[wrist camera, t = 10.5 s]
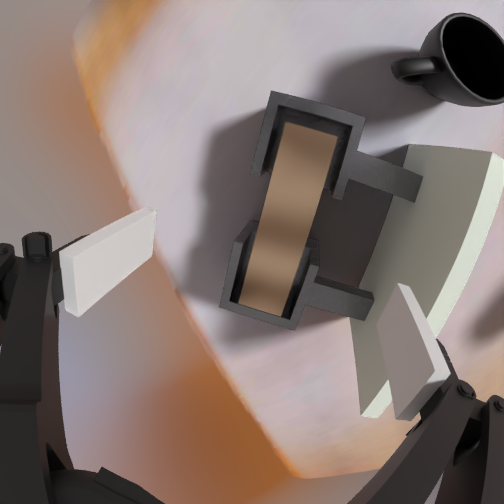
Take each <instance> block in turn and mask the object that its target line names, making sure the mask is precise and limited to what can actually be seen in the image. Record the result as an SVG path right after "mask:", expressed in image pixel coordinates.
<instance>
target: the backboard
mask: <svg viewBox="0 0 504 504" xmlns="http://www.w3.org/2000/svg"><path fill="white" fill-rule="evenodd" d="M402 168H404V169H407V170H409V171H412V172H414V173H416V174H419V175H421V176H423V179H422V183H421V186H420V189H419V192H418V195H417V198H416V201H415V203H413V202H411V201H408V200H406V199H403V198H401V197H398V196H395V195H394V196H393V199H392V202H391V205H390V208H389V210H388V213H387V216H386V219H385V222H384V224H383V227H382V230H381V233H380V235H379V238H378V241H377V243H376V246H375V248H374V251H373V253H372V256H371V258H370V261H369V263H368V266H367V268H366V271H365V273H364V275H363V278H362V280H361V282H360V285H359V287H358V288H359V289H362V290H365V291H369V292H372V294H373V297H374V300H375V301H374V303H373V305H372V307H371V309H370V311H369V313H368V315H367V317H366V319H365V321H362V320H358V319H354V318H351V317H349V318H350V325H351V332H352V339H353V346H354V354H355V363H356V371H357V381H358V391H359V402H360V414H361V416H364V417H370V418H378V417H379V416H380V415H381V413H382V412H383V411H384V410H385V408H386V407H387V406H388V405H389V404H390V402H391V401H392V395H391V390H390V385H389V379H388V375H387V370H386V365H385V360H384V356H383V351H382V347H381V343H380V339H379V334H378V330H377V326H376V324H377V322H378V320H379V319H380V317H381V315H382V313H383V311H384V309H385V307H386V305H387V303H388V301H389V299H390V297H391V295H392V293H393V291H394V289H395V287H396V284H397V283H400V284H403V285H406V286H409V287H410V289H411V290H412V292H413V294H414V296H415V298H416V300H417V302H418V304H419V306H420V308H421V310H422V312H423V314H424V316H425V318H426V320H427V322H428V324H429V326H430V328H431V330H432V332H433V334H434V336H435V338H436V337H437V335H438V333H439V332H440V330H441V328H442V327H443V325H444V323H445V322H446V320H447V318H448V316H449V315H450V313H451V311H452V309H453V307H454V306H455V304H456V302H457V300H458V298H459V296H460V294H461V292H462V290H463V288H464V286H465V284H466V282H467V280H468V278H469V276H470V274H471V272H472V269H473V267H474V265H475V263H476V261H477V258H478V256H479V254H480V251H481V249H482V247H483V244H484V242H485V239H486V237H487V234H488V231H489V229H490V226H491V223H492V221H493V218H494V215H495V212H496V209H497V206H498V203H499V200H500V197H501V193H502V190H503V187H504V159H502V158H501V157H499V156H497V155H496V154H494V153H493V152H487V151H480V150H472V149H463V148H454V147H443V146H432V145H417V144H409V146H408V150H407V154H406V157H405V161H404V164H403V167H402Z"/></svg>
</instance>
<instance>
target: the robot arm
mask: <svg viewBox="0 0 504 504" xmlns="http://www.w3.org/2000/svg"><path fill="white" fill-rule="evenodd" d="M156 214H157V210H154V209H151V208H147V207H144V208H142V209H140V210H137V211H135V212H133V213H131V214H129V215H127V216H125V217H123V218H121V219H119V220H117V221H115V222H113V223H111V224H109V225H107V226H105V227H103V228H102V229H100V230H98V231H96V232H94V233H92V234H88V235H84V236H81V237H79V238H77V239H75V240H74V241H72V242H70V243H68V244H66V245H64V246H63V247H61V248H59V249H57V250H55V251H53V252H52V240H51V235H49V234H48V233H45V232H32V233H29V234H27V235H25V236H24V237H23V238H22V246H23V256H24V258H22V257H17V256H15V252H14V247H13V246H12V245H11V244H6V243H1V244H0V346H1V352H0V504H164V503H163V502H161V501H160V500H158V499H157V498H155V497H154V496H153V495H151V494H150V493H148V492H147V491H146V490H144V489H143V488H142V487H140V486H139V485H137V484H135V483H133V482H131V481H128V480H127V479H124V478H122V477H120V476H118V475H116V474H115V473H113V472H111V471H109V470H107V469H105V468H103V467H101V469H100V470H99V472H98V473H96V472H90V471H86V470H77V469H74V467H73V464H72V461H71V458H70V456H69V453H68V449H67V444H66V438H65V431H64V424H63V416H62V407H61V396H60V382H59V359H58V358H59V357H58V330H59V327H58V326H59V306H58V303H59V302H61V301H62V300H63V299H64V304H65V310H66V311H67V312H69V313H71V314H73V315H75V316H76V317H78V318H79V317H80V316H81V315H82V314H83V313H84V312H85V311H87V310H88V309H89V308H90V307H91V306H92V305H93V304H95V303H96V302H97V301H98V300H99V299H101V298H102V297H103V296H104V295H105V294H106V293H108V292H109V291H110V290H111V289H112V288H114V287H115V286H116V285H117V284H118V283H120V282H121V281H122V280H123V279H124V278H125V277H127V276H128V275H129V274H130V273H132V272H133V271H134V270H135V269H137V268H138V267H139V266H140V265H141V264H143V263H144V262H145V261H146V260H148V259H149V258H150V257H151V256H152V251H153V241H154V231H155V223H156ZM376 326H377V330H378V334H379V339H380V343H381V347H382V351H383V356H384V360H385V365H386V370H387V375H388V379H389V385H390V390H391V395H392V401H393V406H394V412H395V418H396V419H398V420H407V421H411V420H412V419H413V418H414V417H415V416H416V415H417V414H418V413H419V411H420V415H421V420H420V421H419V422H418V423H417V424H416V425H415V426H414V427H413V428H412V429H411V430H410V431H409V432H408V433H407V434H406V436H407V437H406V439H405V440H404V441H403V442H402V444H401V445H400V446H399V448H398V449H397V450H396V451H395V453H394V454H393V455H392V456H391V457H390V459H389V460H388V461H387V462H386V463H385V464H384V466H383V467H382V468H381V469H380V470H379V471H378V473H377V474H376V475H375V476H374V477H373V478H372V479H371V480H370V481H369V482H368V483H367V484H366V485H365V486H364V487H363V489H362V490H361V491H360V492H359V493H358V494H357V495H356V496H355V497H354V498H353V499H352V500H351V501H349V502H348V503H347V504H424V503H425V501H426V500H427V498H428V497H429V495H430V494H431V492H432V490H433V489H434V487H435V485H436V484H437V482H438V480H439V478H440V477H441V475H442V473H443V471H444V473H443V477H442V481H441V485H440V488H439V491H438V495H437V498H436V501H435V504H504V399H503V398H501V397H500V396H497V395H492V396H491V397H490V398H489V399H488V400H487V402H486V403H485V402H482V401H480V400H478V399H476V393H475V391H474V389H473V388H472V387H471V386H470V385H469V384H468V383H467V382H465V381H463V380H459V379H458V377H457V375H456V372H455V370H454V368H453V365H452V363H451V362H450V358H449V356H447V355H448V354H447V352H446V350H445V348H444V346H443V345H442V344H441V343H440V341H439V340H438V339H435V336H434V334H433V332H432V330H431V328H430V326H429V324H428V322H427V320H426V318H425V316H424V314H423V312H422V310H421V308H420V306H419V304H418V302H417V300H416V298H415V296H414V294H413V292H412V290H411V289H410V287H409V286H406V285H403V284H400V283H397V284H396V287H395V289H394V291H393V293H392V295H391V297H390V299H389V301H388V303H387V305H386V307H385V309H384V311H383V313H382V315H381V317H380V319H379V320H378V322H377V324H376ZM1 344H2V345H1Z"/></svg>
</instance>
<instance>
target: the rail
mask: <svg viewBox="0 0 504 504" xmlns="http://www.w3.org/2000/svg"><path fill="white" fill-rule="evenodd" d="M337 138H338V137H337V136H334V135H330V134H327V133H324V132H320V131H317V130H314V129H310V128H307V127H303V126H299V125H296V124H292V123H288V122H285V126H284V130H283V134H282V138H281V142H280V145H279V149H278V153H277V157H276V161H275V165H274V168H273V172H272V176H271V180H270V184H269V188H268V191H267V195H266V199H265V203H264V207H263V211H262V214H261V218H260V222H259V226H258V230H257V234H256V237H255V241H254V245H253V249H252V253H251V257H250V260H249V264H248V268H247V272H246V276H245V280H244V283H243V287H242V291H241V295H240V299H239V303H238V304H241V305H244V306H248V307H251V308H254V309H257V310H260V311H264V312H267V313H270V314H273V315H277V316H280V317H281V315H282V312H283V309H284V306H285V303H286V300H287V298H288V295H289V292H290V289H291V286H292V283H293V280H294V277H295V274H296V271H297V269H298V266H299V263H300V260H301V257H302V254H303V250H304V247H305V244H306V241H307V238H308V235H309V232H310V229H311V226H312V223H313V219H314V216H315V213H316V210H317V206H318V203H319V200H320V197H321V193H322V190H323V187H324V183H325V180H326V177H327V173H328V170H329V166H330V163H331V159H332V156H333V152H334V149H335V145H336V142H337Z"/></svg>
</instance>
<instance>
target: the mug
mask: <svg viewBox="0 0 504 504" xmlns="http://www.w3.org/2000/svg"><path fill="white" fill-rule="evenodd" d="M391 70H392V73H393V75H394V77H395V78H396V79H397V80H398V81H400V82H403V83H405V84H409V85H422V86H423V87H424V88H425V89H426V90H427V91H428V92H429V93H430V94H431V95H433V96H435V97H437V98H439V99H442V100H445V101H447V102H450V103H454V104H457V105H461V106H470V107H482V106H491V105H497V104H501V103H503V102H504V40H503V39H502V38H501V36H500V35H499V34H498V33H497V32H496V31H495V30H494V29H493V28H492V27H491V26H490V25H489V24H488V23H486V22H485V21H483V20H482V19H480V18H478V17H476V16H473V15H471V14H466V13H453V14H450V15H448V16H446V17H445V18H444V19H443V20H442V21H440V22H439V23H438V24H437V25H436V26H435V27H434V28H433V29H432V30H431V31H430V32H429V33H428V35H427V36H426V38H425V40H424V42H423V44H422V46H421V49H420V53H419V57H409V58H403V59H398V60H396V61H394V62H393V63H392V64H391Z"/></svg>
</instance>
